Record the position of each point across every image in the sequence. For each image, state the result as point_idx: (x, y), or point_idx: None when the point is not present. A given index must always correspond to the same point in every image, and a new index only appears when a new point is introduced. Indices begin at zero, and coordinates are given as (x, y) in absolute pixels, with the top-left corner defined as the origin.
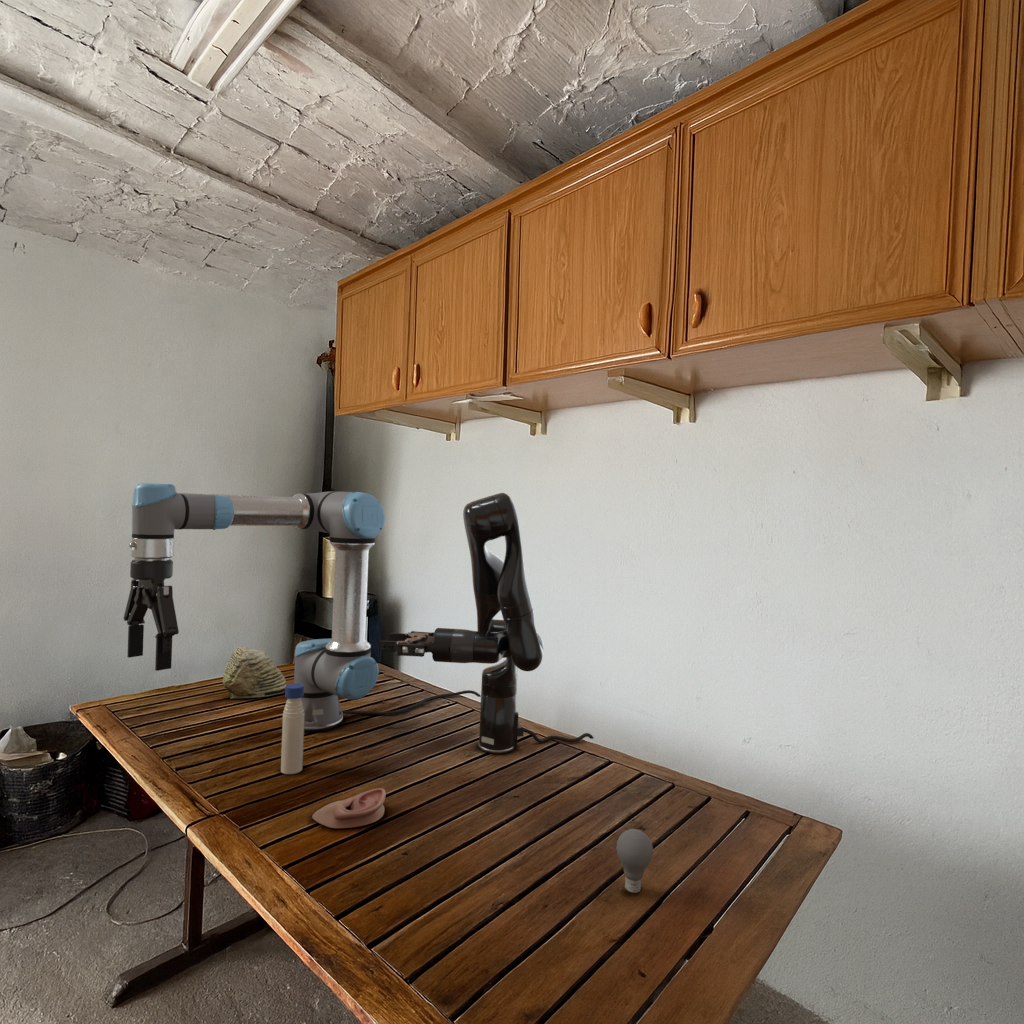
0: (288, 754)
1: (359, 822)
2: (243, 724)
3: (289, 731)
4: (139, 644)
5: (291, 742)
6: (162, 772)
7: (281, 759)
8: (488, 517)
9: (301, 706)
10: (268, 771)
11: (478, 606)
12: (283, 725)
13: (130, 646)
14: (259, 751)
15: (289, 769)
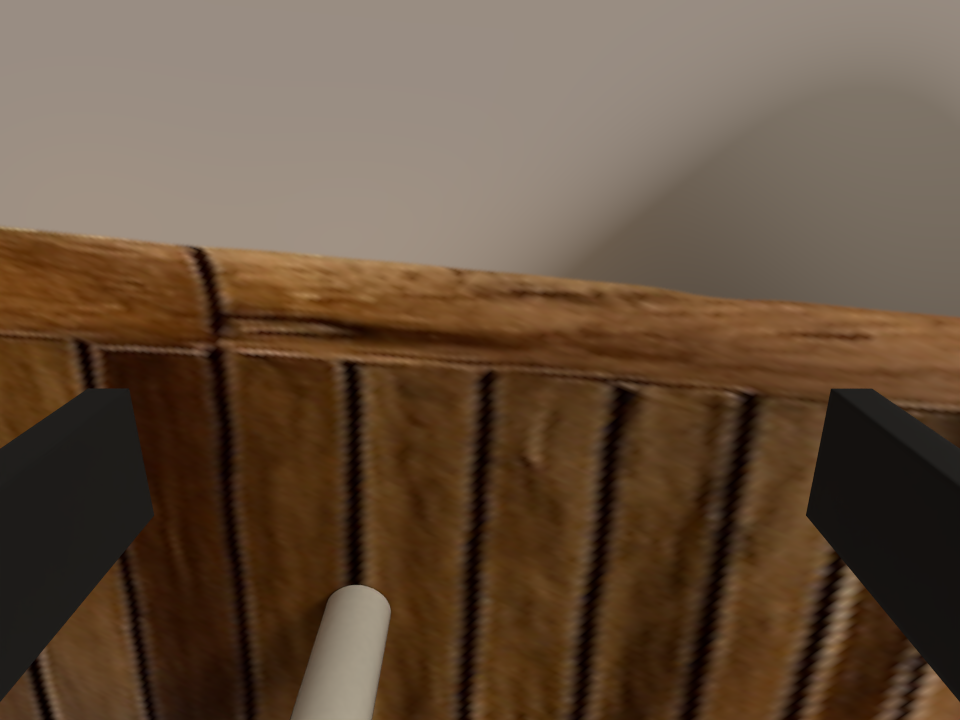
0: (322, 636)
1: None
2: (808, 682)
3: (301, 702)
4: (886, 563)
5: (306, 673)
6: (637, 349)
7: (357, 613)
8: None
9: None
10: (396, 565)
11: None
12: (326, 711)
13: (902, 461)
14: (557, 615)
15: (330, 603)
